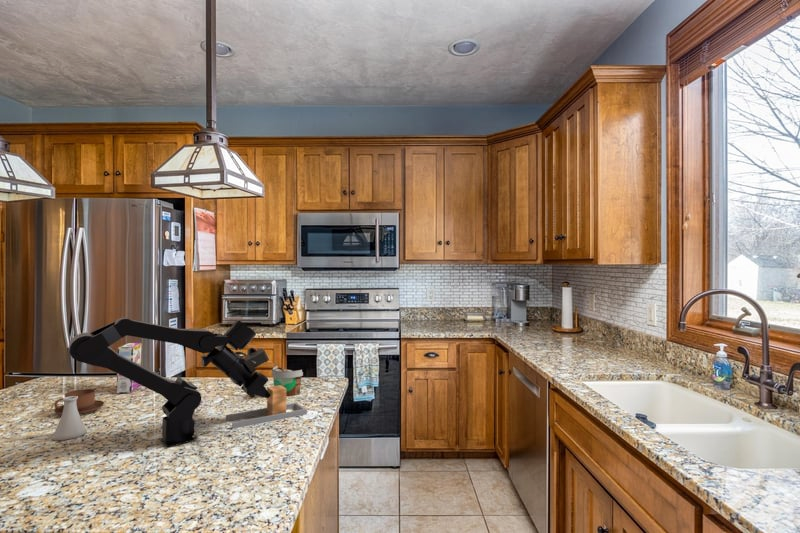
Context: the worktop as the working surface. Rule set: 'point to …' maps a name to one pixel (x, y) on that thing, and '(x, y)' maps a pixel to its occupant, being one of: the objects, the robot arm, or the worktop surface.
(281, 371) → the food container
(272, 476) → the worktop surface
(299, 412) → the channel board
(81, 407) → the cup and saucer
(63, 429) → the flask
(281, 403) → the orange block
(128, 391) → the candy bar box
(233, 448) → the worktop surface
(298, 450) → the worktop surface
